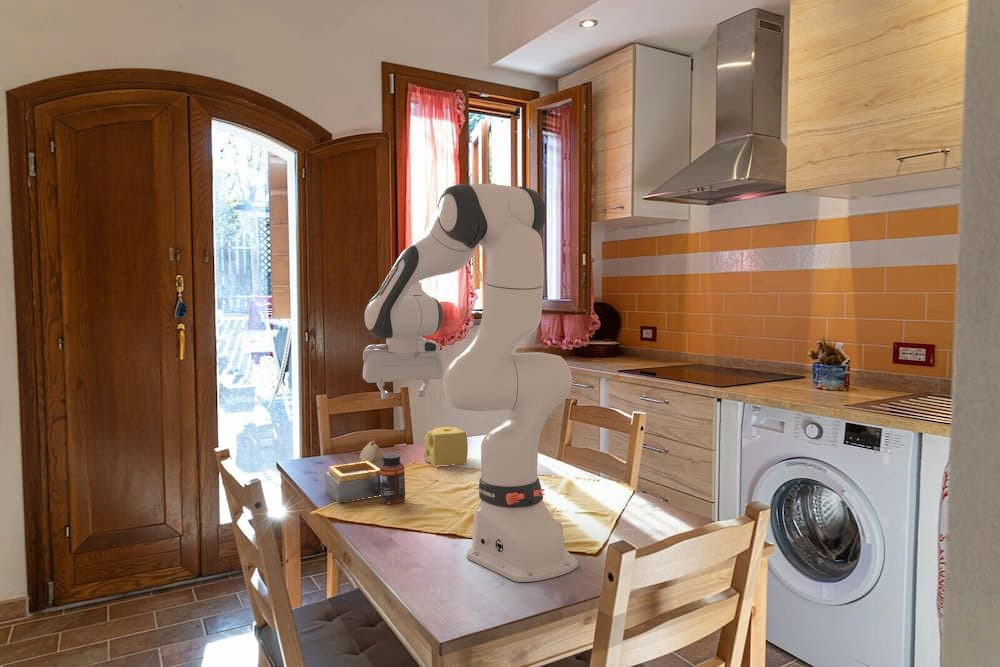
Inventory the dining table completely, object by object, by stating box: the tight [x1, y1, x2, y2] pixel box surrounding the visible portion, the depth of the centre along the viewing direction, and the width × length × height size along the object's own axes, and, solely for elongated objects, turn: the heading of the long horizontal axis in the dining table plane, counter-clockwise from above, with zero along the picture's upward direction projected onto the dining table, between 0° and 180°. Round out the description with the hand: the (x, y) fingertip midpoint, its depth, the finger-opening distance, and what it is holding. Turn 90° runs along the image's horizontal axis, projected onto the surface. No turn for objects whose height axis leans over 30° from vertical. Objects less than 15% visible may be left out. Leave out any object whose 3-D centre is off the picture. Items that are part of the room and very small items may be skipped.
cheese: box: [423, 426, 469, 466], centre depth 197 cm, size 10×11×10 cm
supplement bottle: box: [380, 453, 406, 505], centre depth 160 cm, size 6×6×11 cm
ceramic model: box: [359, 440, 387, 469], centre depth 183 cm, size 14×11×10 cm
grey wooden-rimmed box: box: [324, 461, 381, 504], centre depth 167 cm, size 12×12×6 cm
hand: (403, 397), depth 166 cm, fingers open, 8 cm apart
